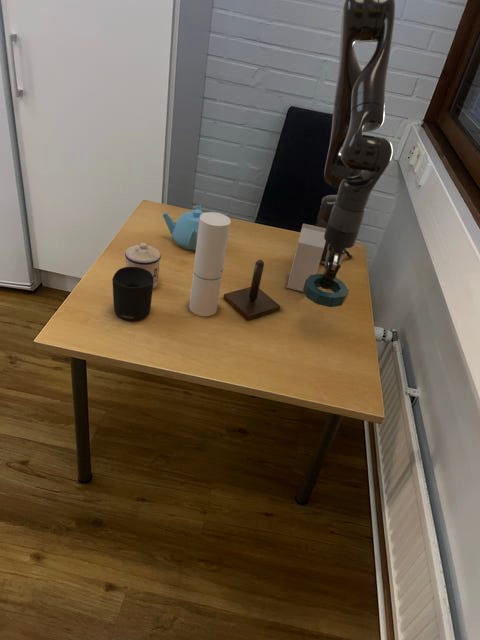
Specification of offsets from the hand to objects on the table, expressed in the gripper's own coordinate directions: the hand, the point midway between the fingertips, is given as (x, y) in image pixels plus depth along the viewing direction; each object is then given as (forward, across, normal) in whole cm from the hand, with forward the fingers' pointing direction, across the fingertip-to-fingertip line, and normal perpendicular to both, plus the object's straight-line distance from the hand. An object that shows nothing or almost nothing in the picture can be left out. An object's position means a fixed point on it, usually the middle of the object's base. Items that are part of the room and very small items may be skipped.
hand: (325, 285), depth 119 cm
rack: (+10, +1, -18) cm, 20 cm away
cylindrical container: (+10, +8, -29) cm, 32 cm away
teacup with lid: (+10, +2, -48) cm, 49 cm away
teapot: (+11, -26, -41) cm, 50 cm away
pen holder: (+10, +16, -45) cm, 49 cm away
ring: (0, +4, 0) cm, 4 cm away
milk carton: (+11, -15, -6) cm, 19 cm away
